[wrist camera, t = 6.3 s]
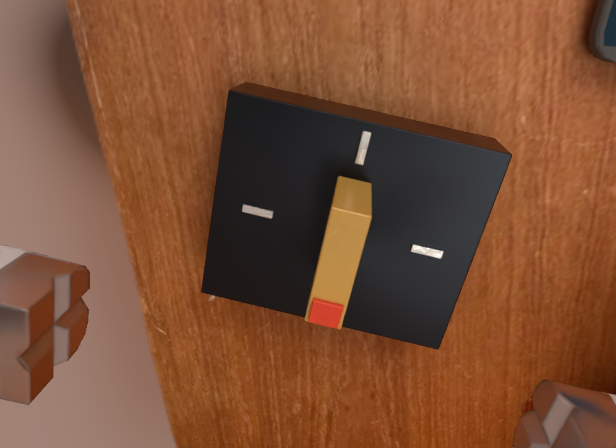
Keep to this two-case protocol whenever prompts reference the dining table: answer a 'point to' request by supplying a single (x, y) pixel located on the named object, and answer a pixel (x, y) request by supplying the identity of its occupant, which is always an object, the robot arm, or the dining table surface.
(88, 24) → the dining table surface
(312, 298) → the thumb turn
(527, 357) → the dining table surface
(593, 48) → the smartphone
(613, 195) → the dining table surface
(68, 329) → the robot arm
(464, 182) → the plate
